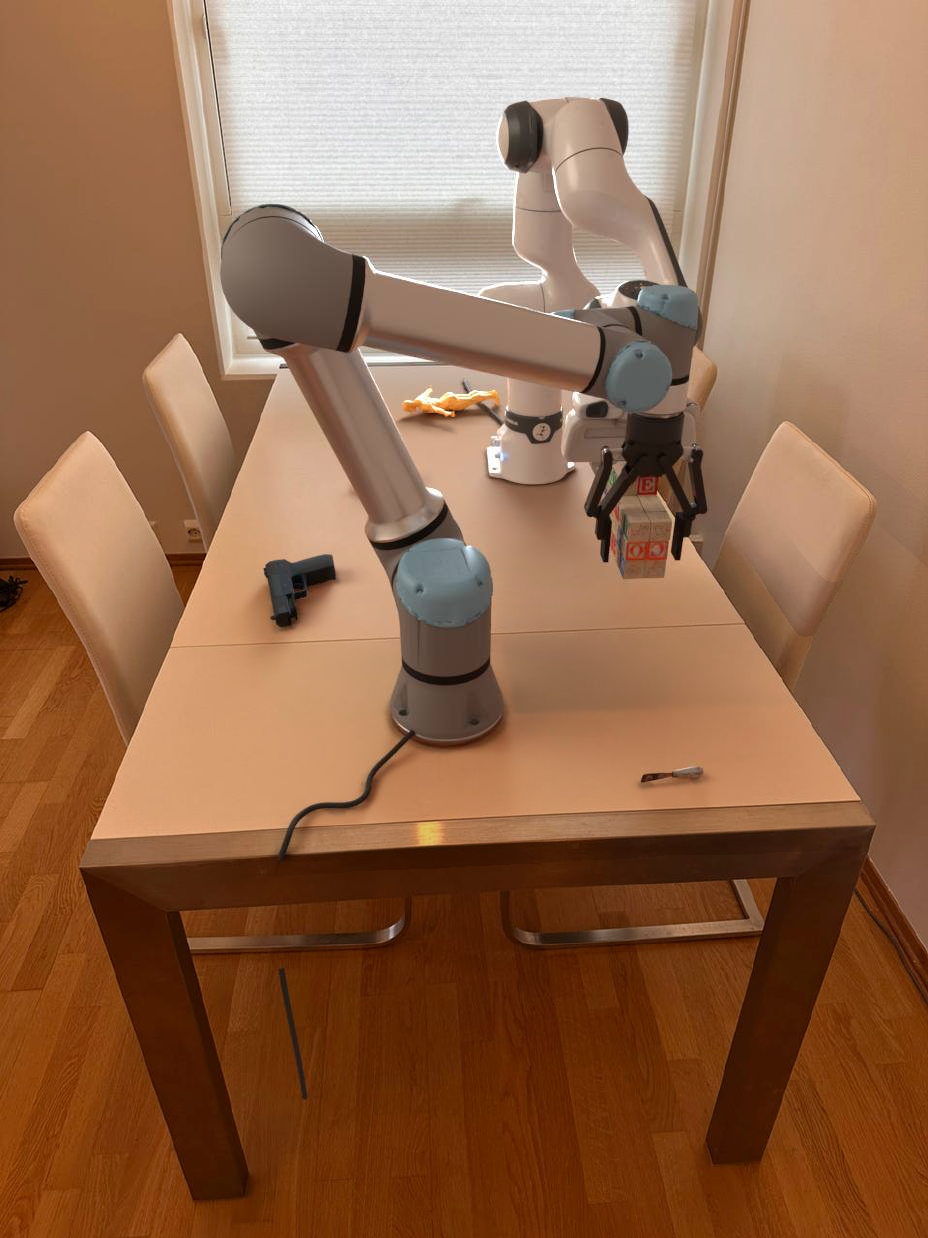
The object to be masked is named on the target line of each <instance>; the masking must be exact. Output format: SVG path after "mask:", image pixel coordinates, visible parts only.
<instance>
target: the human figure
mask: <svg viewBox="0 0 928 1238" xmlns="http://www.w3.org/2000/svg"><path fill="white" fill-rule="evenodd" d="M424 391H425V392H423V393H422V394H420V395H418V396H416V398H415V399H414V400H404V401H403V402H402V411H404V412H405V413H410V414H412V413H414V412H417V408H418V409H420V410H421V411H423V412H424V413H427V414H439V415H443V416H444V417H449V416H450V417H451V418H452V417H453V418H454V417H455V416H456V414H455V411H462V410H464V409H467V408H469V407H471V406H473V405H476V404H479V403H478V402H482V403H483V402H484V401H488V400H493V402H494V403H495V404H496V405H497V406H500V398H499V393H498V392H497V391H496V390H495V389H493V390H491V391H478V390H473V391H472V392H471V393H469V392H468V394H460V393H457V394H455V393H453V392H446V393H444V394H443V395H442V396H441V397H440V398H434V397H429V396H430V395H432V394H433V392H434V391H433V389H432V385H429V387H428V389H424ZM450 410H452V411H450Z"/></svg>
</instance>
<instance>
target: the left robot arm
mask: <svg viewBox="0 0 928 1238" xmlns="http://www.w3.org/2000/svg"><path fill="white" fill-rule="evenodd" d="M220 261H221V262H220V269H219V276H220V277H219V278H220V284H221V285H220V286H221V289H222V293H223V295H224V298H225V300H226V302H227V304H228V306H229V307H230V309H231V311H232V312H233V314H235V316H236V317H237V318H238V319H239V320H240V321H241V322H242V323H243V324H245V325H246V326H247V327H249V328H250V329H251V330H252V332H254V334H255V336H256V338H257V340H258V341H259V343H260V345H261V346H262V349H263V350H264V351H265V352H267V353H268V354H269V353H270V354H273V355H276V356H279V357H281V358H282V359H283V361H284V362H285V364H286V366H287V368H288V370H289V371H290V374H291V375H292V377H293V378H294V381H295V383H296V385H297V386H298V388H299V390H300V392H301V394H302V395H303V397H304V399H305V401H306V403H307V405H308V406H309V409H310V410H311V412H312V414H313V416H314V418H315V420H316V422H317V424H318V426H319V428H320V429H321V431H322V432H323V433H322V434H324V436H325V438H326V440H327V442H328V444H329V445H330V448H331V449H332V451H333V453H334V455H335V457H336V458H337V460H338V462H339V464H340V466H341V468H342V469H343V472H344V473H345V476H346V477H347V480H348V481H349V482H350V485H351V486H352V488H353V490H354V492H355V494H356V496H357V498H358V499H359V501H360V503H361V505H362V507H363V508H364V510H365V513H366V514H367V516H368V517H367V520H366V522H365V526H364V534H365V536H366V538H367V540H368V541H369V544H370V545H371V547H372V549H373V551H374V553H375V555H376V556H377V558H378V560H379V562H380V564H381V565H382V567H383V569H384V571H385V574H386V576H387V579H388V583H389V585H390V589H391V593H392V596H393V599H394V603H395V607H396V611H397V615H398V620H399V633H400V634H399V635H400V655H401V667H400V669H399V672H398V675H397V678H396V681H395V684H394V687H393V690H392V693H391V696H390V718H391V721H392V724H393V725H394V727H395V728H396V729H397V731H398V732H399V733H400V734H402V735H403V737H402V738H401V739H400V740H399V741H398V742H397V743H396V744H395V746H393V747H392V748H391V749H390V750H389V751H388V752H387V753H386V754H385V755H384V756H383V757H381V759H379V761H377V762H376V764H375V765H374V766H373V767H372V768H371V770H370V771H369V773H368V775H367V777H366V781H365V787H364V791H363V793H362V794H361V795H360V796H359V797H357V798H355V799H353V800H350V801H338V802H337V801H336V802H334V801H331V802H330V801H329V802H328V801H327V802H326V801H325V802H318V803H314V804H311V805H309V806H306V807H305V808H304V809H302V810H301V811H299V812H298V813H297V814H296V815H294V817H293V818H292V819H291V821H290V822H289V825H288V827H287V829H286V832H285V835H284V838H283V841H282V844H281V847H280V849H279V852H278V854H277V855H278V856H277V861H281V862H282V860H284V859H285V857H286V853H287V851H288V848H289V845H290V842H291V839H292V836H293V833H294V831H295V828H296V827H297V824H298V823H300V822H301V820H302V819H303V818H305V817H306V816H307V815H309V814H310V813H313V812H314V811H318V810H323V809H337V810H338V809H350V808H354V807H357V806H359V805H361V804H362V803H364V802H365V801H366V800H367V799H368V797H369V796H370V793H371V791H372V785H373V780H374V777H375V776H376V774H377V773H378V772H379V771H380V769H381V768H382V767H383V766H384V765H385V764H386V763H387V762H388V761H389V760H390V759H392V758H393V757H394V756H395V755H396V754H397V752H399V751H400V750H401V749H402V747H404V745H406V743H407V742H409V741H410V740H411V741H413V742H415V743H417V744H420V745H421V744H422V745H425V746H430V747H437V748H454V747H455V748H457V747H463V746H467V745H471V744H473V743H476V742H480V741H481V740H483V739H485V738H486V737H488V736H489V735H491V734H492V733H493V732H494V731H495V730H496V729H498V727H499V726H500V724H501V722H502V720H503V717H504V697H503V693H502V690H501V687H500V685H499V682H498V679H497V677H496V674H495V672H494V668H493V666H492V664H491V654H492V653H491V651H492V649H491V648H492V647H491V645H492V596H493V594H494V583H493V577H492V570H491V566H490V562H489V560H488V558H487V557H486V556H485V555H484V554H483V553H482V552H481V551H480V550H479V549H478V548H477V547H475V546H473V545H467V544H466V542H465V539H464V535H463V532H462V530H461V528H460V525H459V524H458V522H457V520H455V519H454V517H453V514H452V512H451V510H450V508H449V506H448V504H447V502H446V500H445V498H444V496H443V494H442V493H441V492H440V491H439V490H437V489H434V488H430V487H427V486H426V484H425V482H424V480H423V478H422V475H421V473H420V471H419V469H418V467H417V465H416V463H415V461H414V459H413V457H412V455H411V453H410V451H409V449H408V447H407V444H406V443H405V440H404V438H403V437H402V434H401V431H400V430H399V428H398V426H397V423H396V422H395V420H394V418H393V416H392V413H391V412H390V409H389V408H388V405H387V404H386V401H385V399H384V398H383V395H382V393H381V391H380V389H379V387H378V384H377V383H376V380H375V379H374V376H373V374H372V373H371V372H372V371H371V370H370V368H369V366H368V363H367V362H366V360H365V358H364V356H363V354H362V351H361V350H360V348H361V347H366V348H369V349H374V350H378V351H384V352H388V353H393V354H398V355H403V356H407V357H412V358H416V359H420V360H426V361H430V362H435V363H440V364H443V365H448V366H453V367H458V368H462V369H467V370H472V371H476V372H481V373H486V374H490V375H495V376H499V377H504V378H507V377H508V378H513V379H517V380H522V381H526V382H531V383H536V384H540V385H545V386H549V387H554V388H559V389H562V391H563V390H564V391H568V392H572V393H574V392H577V393H581V394H584V395H589V396H593V397H598V398H602V399H606V400H609V402H610V403H611V404H612V405H614V406H615V407H617V408H620V409H622V410H623V411H626V412H628V414H627V424H626V435H625V441H624V443H623V444H622V446H621V447H619V448H609V447H608V446H603V447H602V448H601V462H600V465H599V467H598V468H597V469H598V470H597V472H596V475H595V474H594V475H595V476H594V478H593V481H592V483H591V485H590V488H589V491H588V494H587V496H586V500H585V502H584V505H583V509H584V512H585V514H586V516H587V518H595V527H594V528H595V529H594V534H595V537H596V539H597V541H600V549H599V555H600V558H601V560H602V563H603V564H604V563H605V564H607V563H609V562H610V550H611V548H610V540H611V529H612V520H611V518H610V516H609V515H610V514H611V512H612V511H613V509H614V508H615V507H616V505H617V504H618V502H619V501H620V499H621V498H622V496H623V495H624V494H625V492H626V491H627V489H628V488H629V486H630V485H631V484H632V483H634V482H635V480H636V479H637V478H638V476H639V477H648V476H654V477H659V478H662V477H663V476H665V478H666V480H667V483H668V484H669V486H670V488H671V491H672V493H673V495H674V497H675V499H676V501H677V503H678V505H679V507H680V509H681V511H676V512H675V516H674V523H673V529H672V530H673V531H672V539H671V546H670V555H672V557H673V560H674V561H678V562H679V561H681V559H682V550H683V545H684V544H683V543H684V539H685V538H689V537H690V536H691V534H692V526H693V521H695V520H696V518H697V517H696V516H697V515H706V513H708V504H707V503H708V502H707V497H706V492H705V484H704V477H703V470H702V461H703V457H704V451H703V450H702V448H701V447H700V446H699V444H698V443H696V444H692V445H691V446H682V443H681V439H682V432H683V425H684V417H685V414H684V413H683V410H685V408H686V403H687V398H688V392H689V385H690V374H691V369H692V368H691V367H692V361H693V353H694V348H695V347H694V340H695V333H696V330H697V318H698V306H699V297H698V294H697V292H695V290H693V289H691V288H689V287H688V288H687V287H683V286H677V285H653V286H648V287H645V288H643V289H642V290H641V291H640V293H639V297H638V300H637V303H636V304H637V305H635V306H629V307H617V308H596V309H575V308H572V309H571V310H564V311H557V312H552V313H551V314H548V313H544V312H540V311H536V310H532V309H528V308H524V307H520V306H516V305H512V304H508V303H504V302H500V301H496V300H492V299H488V298H484V297H480V296H477V295H476V294H471V293H468V292H463V291H459V290H455V289H451V288H447V287H444V286H443V287H442V286H439V285H435V284H431V283H427V282H424V281H420V280H419V281H418V280H416V279H415V280H414V279H411V278H408V277H407V278H406V277H403V276H400V275H396V274H395V275H394V274H391V273H387V272H383V271H379V270H376V269H375V268H374V266H373V265H372V263H371V261H370V260H369V258H368V257H366V256H363V255H359V254H356V253H355V254H354V253H351V252H347V251H345V250H343V249H339V248H337V247H334V246H332V245H330V244H328V243H327V242H325V240H324V238H323V236H322V234H321V232H320V230H319V229H318V227H317V226H316V225H315V224H314V223H313V221H312V220H311V218H309V217H307V216H306V215H305V214H304V213H303V212H301V211H299V210H298V209H296V208H294V207H292V206H289V205H285V204H281V203H262V204H257V205H255V206H252V207H250V208H248V209H247V210H244V211H243V212H242V213H241V214H239V215H237V216H236V217H235V219H234V220H232V222H231V223H230V224H229V226H228V227H227V229H226V231H225V233H224V236H223V237H222V241H221V247H220ZM693 347H694V348H693ZM682 455H684V458H685V460H684V461H686V462H687V467H688V474H689V479H690V480H689V481H690V485H691V491H692V497H693V502H692V503H690V501H689V499H688V497H687V495H686V493H685V491H684V488H683V487H682V484H681V482H680V481H679V478H678V476H677V473H676V472H675V469H674V467H673V466H675V465H676V463H677V462H678V461H680V460H679V458H680V457H681V456H682ZM622 456H623V458H624V460H625V461H626V464H625V465H624V467H623V468H622V470H621V474H620V475H619V476H618V478H617V479H616V481H615V482H614V484H613V485H612V487H611V488H610V490H609V491H608V493H607V494H606V495H605V497H604V498H603V500H602V501H601V503H600V500H601V497H602V495H603V492H604V490H605V487H606V484H607V482H608V479H609V477H610V474H611V471H612V465H614V464H616V463H617V460H618V458H619V457H622ZM599 503H600V504H599ZM285 969H286V968H285V967H281V968H278V969H277V970H278V971H277V972H278V978H279V982H280V988H281V994H282V998H283V999H282V1000H283V1004H284V1010H285V1014H286V1019H287V1023H288V1029H289V1034H290V1038H291V1043H292V1048H293V1053H294V1059H295V1063H296V1069H297V1074H298V1080H299V1086H300V1092H301V1098H302V1099H301V1100H303V1101H306V1100H307V1099H308V1090H307V1084H306V1077H305V1073H304V1066H303V1060H302V1055H301V1051H300V1046H299V1040H298V1035H297V1034H298V1033H297V1030H296V1029H297V1028H296V1024H295V1020H294V1014H293V1010H292V1004H291V1000H290V993H289V988H288V983H287V976H286V970H285Z"/></svg>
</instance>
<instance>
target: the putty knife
mask: <svg viewBox="0 0 928 1238" xmlns="http://www.w3.org/2000/svg"><path fill="white" fill-rule="evenodd" d="M704 772H705V771H704V768H702V767H701V766H697V765H695V766H688V767H683V768H679V769H675V770H673V771H671V772H653V773H652V772H651V773H650V772H649V773H644V774H642V776H641V779H640V783H642V784H645V783H648V782H653V781H659V780H665V779H668V778H673V779H674V778H675V779H693V778H694V779H695V778H700V777H702V776H703V775H704Z"/></svg>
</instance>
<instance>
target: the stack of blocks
mask: <svg viewBox="0 0 928 1238" xmlns="http://www.w3.org/2000/svg"><path fill="white" fill-rule="evenodd" d="M625 464H626V461H625V460H624V459H618V460H617V463H616V464H614V465H612V471H611V474H610V477H609V479H608V482H607V484H606V487H605V490H604V492H603V495H602V497H601V500H600V503H601V501H602V500H603V498H604V497H605V495H606V494H607V493H608V491H609V490H610V488H611V487H612V485H613V484H614V482H615V481H616V479H617V478H618V476H619V475H620V474H621V470H622V468H623V467H624V465H625ZM659 479H660V477H654V476H648V477H639V476H638V478H637V479H636V480H635V482H634V483H632V484H631V485H630V486H629V488H628V489H627V491H626V492H625V494H624V495H623V496H622V498H621V499H620V501H619V502H618V504H617V505H616V507H615V508H614V509H613V511H612V512H611V514H610V515H609V516H610V518H611V520H612V529H611V540H610V550H611V551H612V555H613V556H614V560H615V563H616V566H617V568H618V570H619V573H620V575H621V578H622V579H623V580H643V579H665V575H666V567H667V559H668V553H669V545H670V544H669V543H670V540H671V535H672V527H673V519H672V518H671V516H670V515H669V513H668V510H667V509H666V507H665V505H664V504H663V502H662V500H661V498H660V497H659V495H658V491H659V490H658V488H659ZM600 503H599V504H600Z"/></svg>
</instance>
